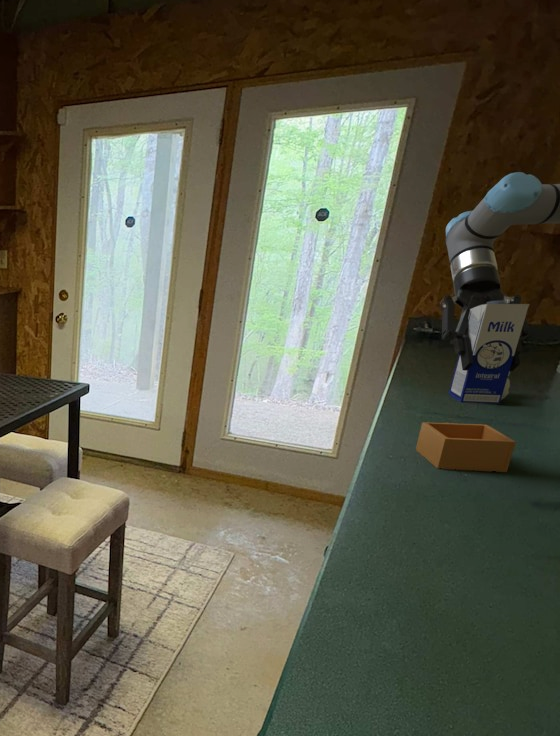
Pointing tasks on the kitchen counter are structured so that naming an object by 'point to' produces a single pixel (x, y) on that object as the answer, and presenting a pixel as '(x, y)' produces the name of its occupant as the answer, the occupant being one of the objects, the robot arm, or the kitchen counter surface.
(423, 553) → the kitchen counter surface
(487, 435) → the bin
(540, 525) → the kitchen counter surface
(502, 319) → the milk carton
